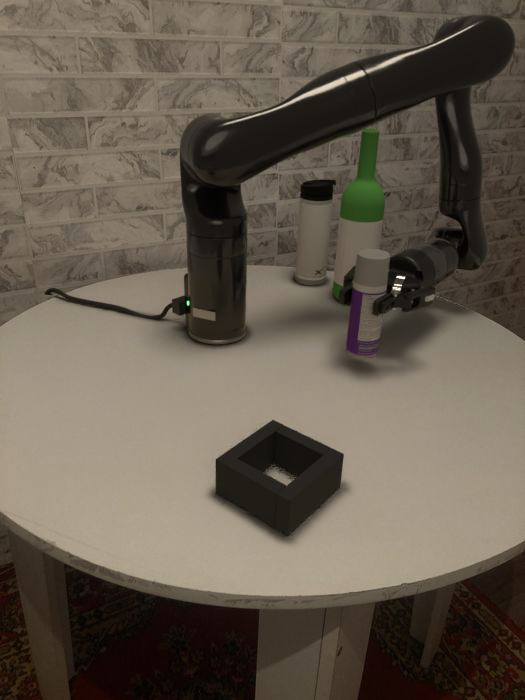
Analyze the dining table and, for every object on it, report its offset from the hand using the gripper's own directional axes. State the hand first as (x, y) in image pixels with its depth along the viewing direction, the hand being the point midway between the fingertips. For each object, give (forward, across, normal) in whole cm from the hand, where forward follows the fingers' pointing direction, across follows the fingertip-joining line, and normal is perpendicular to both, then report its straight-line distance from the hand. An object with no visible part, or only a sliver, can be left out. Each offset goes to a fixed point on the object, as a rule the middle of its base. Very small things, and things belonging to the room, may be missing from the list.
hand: (358, 303), depth 82 cm
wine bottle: (-25, -15, +11) cm, 31 cm away
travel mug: (-27, -26, +12) cm, 39 cm away
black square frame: (+27, +8, +11) cm, 30 cm away
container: (-3, 0, +9) cm, 9 cm away
